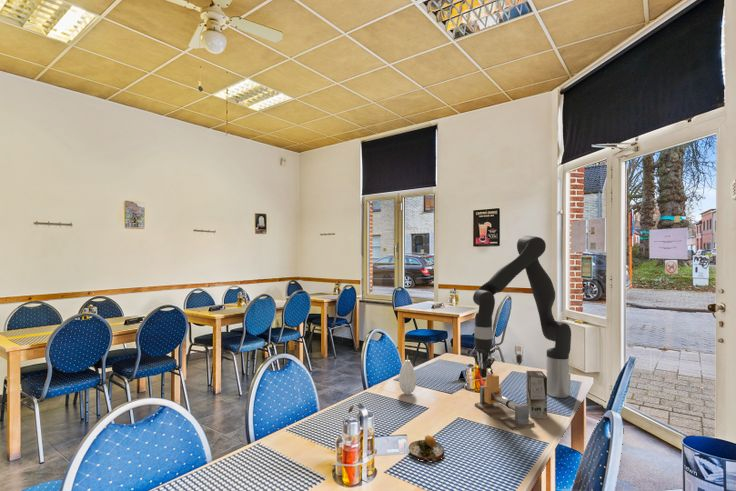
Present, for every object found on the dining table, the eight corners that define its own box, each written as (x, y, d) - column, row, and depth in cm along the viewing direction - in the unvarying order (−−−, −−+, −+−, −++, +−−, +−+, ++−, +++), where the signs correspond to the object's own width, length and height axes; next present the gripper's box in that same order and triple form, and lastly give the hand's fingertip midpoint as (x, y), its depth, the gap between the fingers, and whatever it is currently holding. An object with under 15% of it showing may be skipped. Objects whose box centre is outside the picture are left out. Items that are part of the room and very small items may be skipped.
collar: (484, 401, 170) (484, 375, 170) (496, 399, 173) (496, 373, 173) (488, 404, 168) (488, 377, 168) (500, 402, 170) (501, 375, 170)
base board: (474, 405, 174) (474, 403, 174) (494, 402, 177) (494, 400, 177) (512, 429, 151) (512, 426, 151) (534, 425, 154) (534, 422, 154)
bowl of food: (420, 441, 143) (420, 420, 143) (451, 452, 135) (451, 430, 135) (401, 455, 133) (401, 432, 133) (432, 467, 126) (432, 443, 126)
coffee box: (547, 418, 160) (547, 377, 160) (530, 417, 162) (530, 376, 162) (542, 409, 169) (542, 370, 169) (526, 408, 171) (526, 369, 171)
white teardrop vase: (416, 397, 183) (416, 357, 183) (399, 397, 183) (399, 357, 183) (415, 391, 191) (415, 352, 191) (398, 390, 191) (398, 352, 191)
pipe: (479, 402, 174) (479, 386, 174) (489, 401, 176) (489, 384, 176) (517, 425, 152) (517, 407, 152) (528, 423, 154) (528, 405, 154)
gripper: (500, 339, 171) (500, 380, 171) (481, 332, 184) (481, 371, 184) (485, 340, 169) (485, 382, 169) (467, 334, 181) (466, 373, 181)
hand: (483, 376), depth 176 cm, fingers closed
